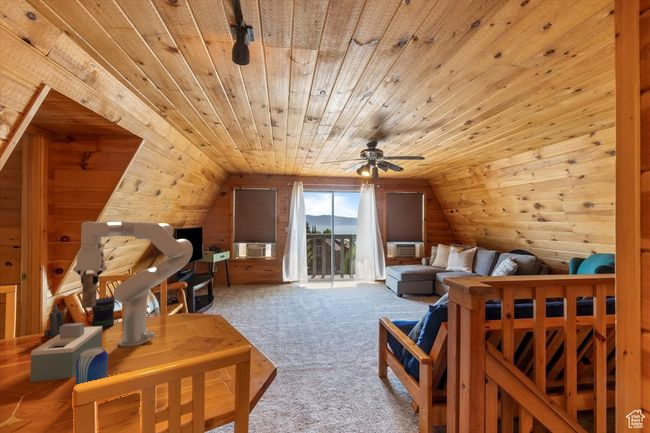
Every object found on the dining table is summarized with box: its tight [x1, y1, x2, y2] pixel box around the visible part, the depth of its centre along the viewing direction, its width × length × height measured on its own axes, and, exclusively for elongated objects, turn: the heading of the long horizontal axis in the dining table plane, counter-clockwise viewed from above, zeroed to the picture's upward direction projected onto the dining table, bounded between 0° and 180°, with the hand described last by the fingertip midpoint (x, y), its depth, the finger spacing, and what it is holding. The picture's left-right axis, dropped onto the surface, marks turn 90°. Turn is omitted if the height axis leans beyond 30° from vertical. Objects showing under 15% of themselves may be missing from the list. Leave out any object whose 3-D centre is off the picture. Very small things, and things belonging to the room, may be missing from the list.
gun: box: [43, 304, 65, 339], centre depth 141 cm, size 3×17×15 cm
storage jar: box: [91, 297, 116, 331], centre depth 156 cm, size 10×10×15 cm
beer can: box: [75, 347, 109, 386], centre depth 96 cm, size 8×8×16 cm
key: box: [81, 272, 98, 309], centre depth 137 cm, size 4×4×16 cm
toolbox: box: [29, 330, 103, 383], centre depth 116 cm, size 13×22×10 cm, turn 15°
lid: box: [30, 322, 103, 356], centre depth 116 cm, size 13×22×6 cm, turn 15°
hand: (89, 283), depth 137 cm, fingers closed on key, 4 cm apart
